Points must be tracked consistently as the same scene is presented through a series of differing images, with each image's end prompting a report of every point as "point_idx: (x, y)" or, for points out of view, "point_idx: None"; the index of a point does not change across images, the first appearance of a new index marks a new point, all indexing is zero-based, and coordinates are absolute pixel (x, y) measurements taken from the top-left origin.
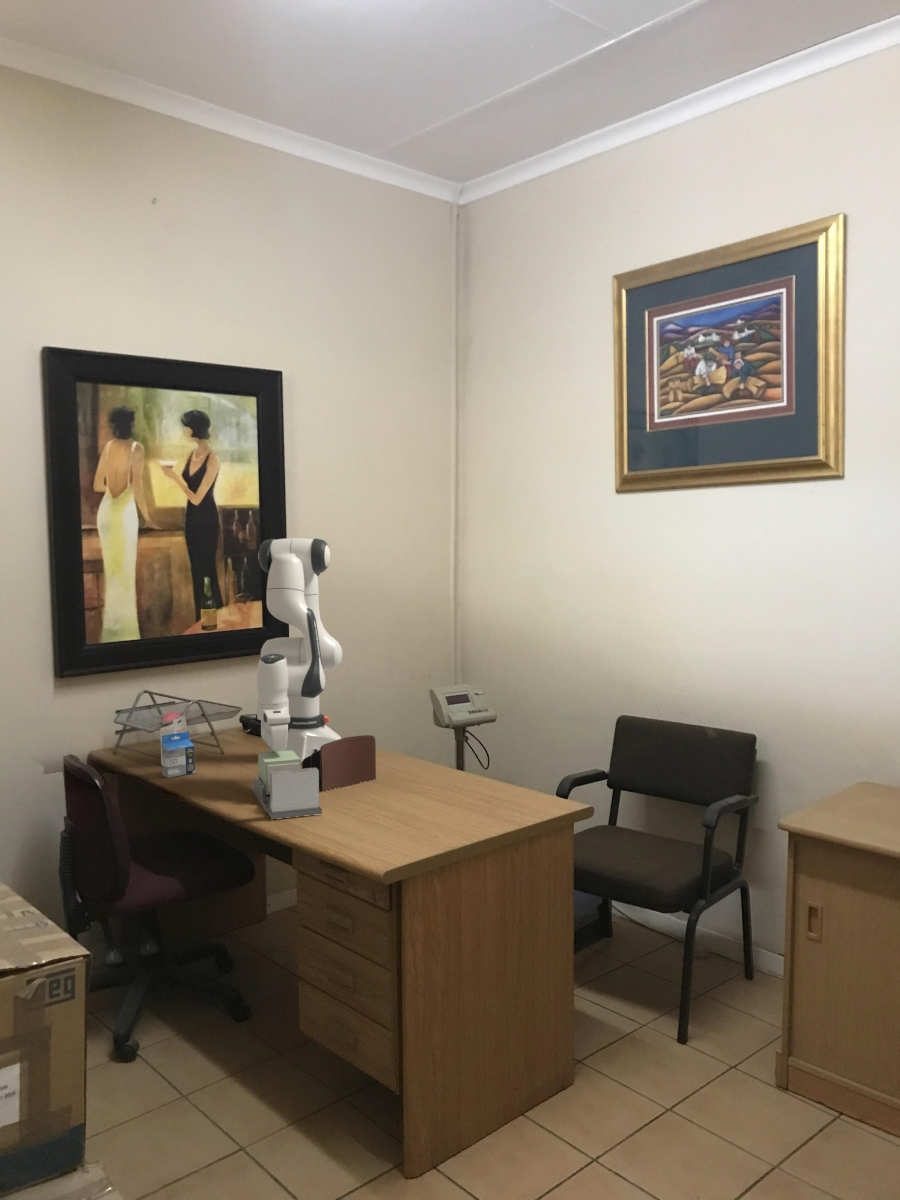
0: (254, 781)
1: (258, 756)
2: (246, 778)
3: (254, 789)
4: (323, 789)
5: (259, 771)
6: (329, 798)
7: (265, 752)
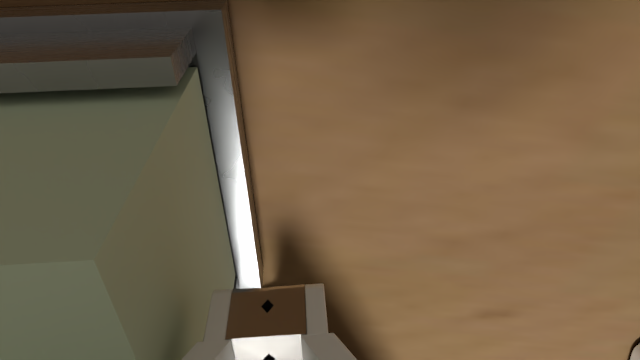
0: (166, 40)
1: (91, 225)
2: (607, 6)
3: (82, 14)
4: None
5: (94, 126)
6: None
7: (127, 341)
